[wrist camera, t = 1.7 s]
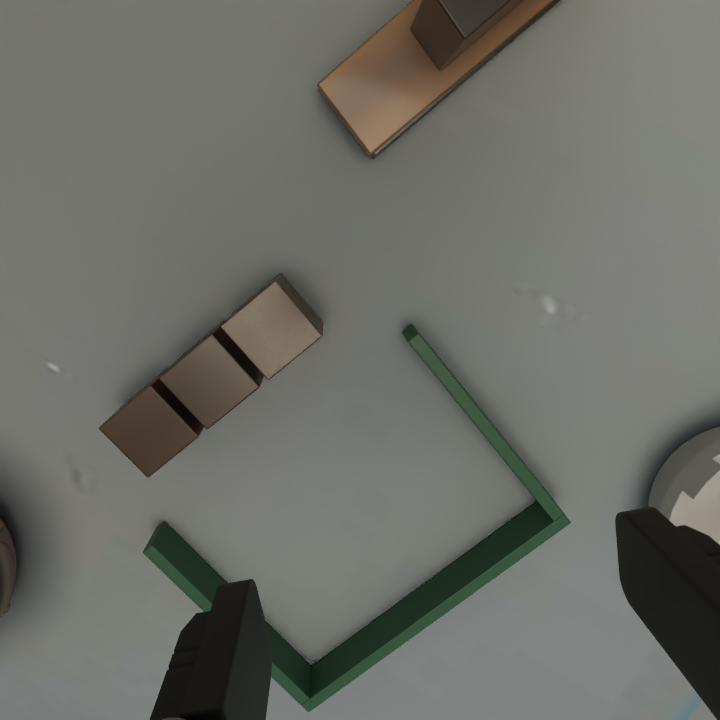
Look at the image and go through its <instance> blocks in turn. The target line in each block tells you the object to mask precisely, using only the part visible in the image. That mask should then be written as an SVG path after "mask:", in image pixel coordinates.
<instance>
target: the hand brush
mask: <svg viewBox="0 0 720 720" xmlns="http://www.w3.org/2000/svg"><path fill="white" fill-rule="evenodd" d="M560 1H561V0H413V1H411V2H410V3H409V4H408V5H407V6H406V7H405V8H403V9H402V10H401V11H400V12H399V13H398V14H397V15H395V16H394V17H393V18H392V19H391V20H390V21H389V22H387V23H386V24H385V25H384V26H383V27H382V28H381V29H379V30H378V31H377V32H376V33H375V34H374V35H373V36H371V37H370V38H369V39H368V40H367V41H366V42H365V43H363V44H362V45H361V46H360V47H359V48H358V49H357V50H355V51H354V52H353V53H352V54H351V55H350V56H349V57H347V58H346V59H345V60H344V61H343V62H342V63H341V64H339V65H338V66H337V67H336V68H335V69H334V70H333V71H331V72H330V73H329V74H328V75H327V76H326V77H325V78H323V79H322V80H321V81H320V82H319V83H318V91H319V92H320V93H321V95H322V96H323V97H324V99H325V100H326V101H327V103H328V104H329V105H330V107H331V108H332V109H333V110H334V112H335V113H336V114H337V116H338V117H339V118H340V120H341V121H342V122H343V124H344V125H345V126H346V127H347V129H348V130H349V131H350V133H351V134H352V135H353V137H354V138H355V139H356V141H357V142H358V143H359V144H360V146H361V147H362V148H363V150H364V151H365V152H366V154H367V155H368V156H371V157H372V158H373V159H374V158H375V157H376V156H378V155H379V154H380V153H381V152H382V151H384V150H385V149H386V148H387V147H388V146H389V145H391V144H392V143H393V142H394V141H395V140H397V139H398V138H399V137H400V136H401V135H402V134H404V133H405V132H406V131H407V130H408V129H410V128H411V127H412V126H413V125H414V124H415V123H417V122H418V121H419V120H420V119H421V118H423V117H424V116H425V115H426V114H427V113H428V112H430V111H431V110H432V109H433V108H434V107H436V106H437V105H438V104H439V103H440V102H441V101H443V100H444V99H445V98H446V97H447V96H449V95H450V94H451V93H452V92H453V91H455V90H456V89H457V88H458V87H459V86H460V85H462V84H463V83H464V82H465V81H466V80H468V79H469V78H470V77H471V76H472V75H473V74H475V73H476V72H477V71H478V70H479V69H481V68H482V67H483V66H484V65H485V64H486V63H488V62H489V61H490V60H491V59H492V58H494V57H495V56H496V55H497V54H498V53H499V52H501V51H502V50H503V49H504V48H505V47H507V46H508V45H509V44H510V43H511V42H512V41H514V40H515V39H516V38H517V37H518V36H520V35H521V34H522V33H523V32H524V31H525V30H527V29H528V28H529V27H530V26H531V25H533V24H534V23H535V22H536V21H537V20H538V19H540V18H541V17H542V16H543V15H544V14H546V13H547V12H548V11H549V10H550V9H551V8H553V7H554V6H555V5H556V4H557V3H559V2H560Z"/></svg>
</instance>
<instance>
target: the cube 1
mask: <svg viewBox="0 0 720 720" xmlns="http://www.w3.org/2000/svg"><path fill="white" fill-rule="evenodd" d="M167 369H168V368H167ZM167 369H166V370H167ZM166 370H165V371H166ZM165 371H163V372H162V373H161V374H160V375H159V376H157V377H156V378H155V379H154V380H153V381H151V382H150V383H149V384H148V385H147V386H145V387H144V388H143V389H142V390H141V391H139V392H138V393H137V394H136V395H135V396H133V397H132V398H131V399H130V400H129V401H127V402H126V403H125V404H124V405H123V406H122V407H120V408H119V409H118V410H117V411H116V412H115V413H114V414H113V415H112V416H111V417H110V418H109V419H108V420H107V421H105V422H104V423H103V424H102V425H101V426H100V427H99V429H100V430H101V431H102V432H103V433H104V434H105V435H106V436H107V437H108V438H109V439H110V440H111V441H112V442H113V443H114V444H115V445H116V446H117V447H118V448H119V449H120V450H121V451H122V452H123V453H124V454H125V455H126V456H127V457H128V458H129V459H130V460H131V461H132V462H133V463H134V464H135V465H136V466H137V467H138V468H139V469H140V470H141V471H142V472H143V474H144V475H145V476H146V477H150V476H151V475H152V474H153V473H155V472H156V471H157V470H158V469H160V468H161V467H162V466H163V465H164V464H166V463H167V462H168V461H169V460H171V459H172V458H173V457H174V456H176V455H177V454H178V453H179V452H180V451H182V450H183V449H184V448H185V447H187V446H188V445H189V444H190V443H192V442H193V441H194V440H195V439H196V438H198V437H199V435H200V433H201V432H202V430H203V428H204V426H203V425H202V424H201V423H200V422H199V421H198V419H197V418H196V417H195V416H194V415H193V414H192V413H191V412H190V411H189V410H188V409H187V408H186V407H185V406H184V405H183V404H182V403H181V401H180V400H179V399H178V398H177V397H176V396H175V395H174V394H173V393H172V392H171V391H170V390H169V389H168V388H167V387H166V386H165V385H164V383H163V382H162V381H161V380H160V379H159V377H160V376H161V375H162V374H163V373H164V372H165Z"/></svg>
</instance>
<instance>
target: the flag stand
mask: <svg viewBox="0 0 720 720" xmlns="http://www.w3.org/2000/svg"><path fill="white" fill-rule="evenodd" d="M648 507H654V508H656V509H657V510H658V511H660V512H661V513H662V514H663V515H664V516H665V517H666V518H667V519H668V520H669V521H671V522H672V523H673V524H674V525H675V526H681V525H686V526H688V527H691V528H693V529H695V530H697V531H700V532H702V533H704V534H706V535H709V536H710V537H711V538H712V539H713V540H715V541H716V542H717V543H718V544H719V545H720V427H717V428H713V429H710V430H707V431H705V432H703V433H701V434H698V435H696V436H694V437H693V438H691V439H690V440H688V441H687V442H685V443H684V444H682V445H681V446H680V447H679V448H678V449H677V450H676V451H675V452H674V453H672V454H671V455H670V456H669V458H668V459H667V460H666V462H665V463H664V464H663V466H662V467H661V468H660V470H659V472H658V474H657V476H656V478H655V480H654V482H653V484H652V488H651V491H650V495H649V501H648Z"/></svg>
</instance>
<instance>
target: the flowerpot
mask: <svg viewBox="0 0 720 720" xmlns="http://www.w3.org/2000/svg"><path fill="white" fill-rule="evenodd" d="M16 568H17V564H16V553H15V544H14V541H13V538H12V536H11V533H10V531H9V528H8V526H7V523H6V521H5V519H4V517H2V516H0V617H1V615H2V614H4V613H6V612H7V611H8V610H9V608H10V603H9V600H10V598H11V595H12V592H13V589H14V585H15V579H16Z"/></svg>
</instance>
